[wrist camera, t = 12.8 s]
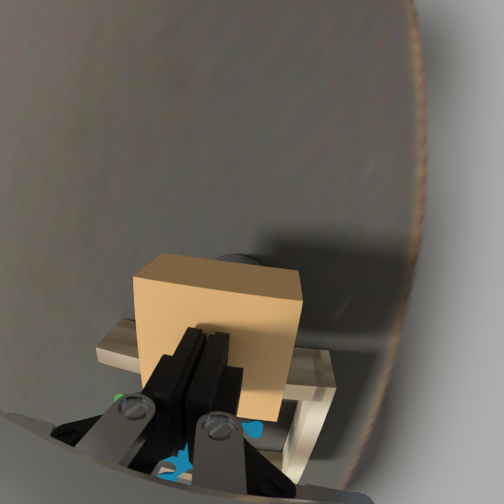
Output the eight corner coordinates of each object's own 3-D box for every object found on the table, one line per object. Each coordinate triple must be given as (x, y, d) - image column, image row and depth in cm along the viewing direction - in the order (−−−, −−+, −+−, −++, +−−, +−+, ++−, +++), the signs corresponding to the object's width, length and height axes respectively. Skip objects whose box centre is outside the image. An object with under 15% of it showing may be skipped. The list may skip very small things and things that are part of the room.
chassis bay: (122, 318, 21) (95, 347, 17) (328, 350, 20) (336, 387, 16) (140, 433, 25) (126, 462, 21) (292, 459, 24) (292, 493, 20)
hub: (161, 252, 14) (133, 276, 11) (298, 270, 14) (302, 301, 11) (164, 361, 16) (144, 397, 13) (278, 379, 16) (276, 421, 13)
